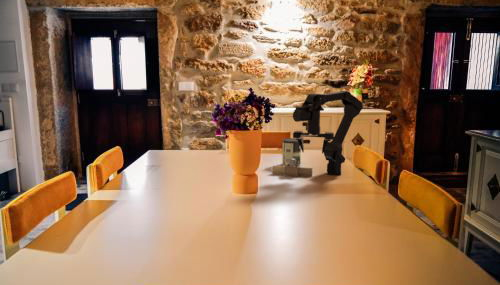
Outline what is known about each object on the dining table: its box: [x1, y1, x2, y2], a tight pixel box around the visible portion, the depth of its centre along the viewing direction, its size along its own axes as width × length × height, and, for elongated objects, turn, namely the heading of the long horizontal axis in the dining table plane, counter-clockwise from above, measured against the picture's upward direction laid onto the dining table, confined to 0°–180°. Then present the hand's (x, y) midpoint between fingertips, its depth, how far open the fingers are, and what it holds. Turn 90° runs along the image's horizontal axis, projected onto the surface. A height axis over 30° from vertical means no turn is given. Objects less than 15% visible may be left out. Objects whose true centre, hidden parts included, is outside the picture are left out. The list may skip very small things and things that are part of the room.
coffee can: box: [281, 137, 302, 166], centre depth 201 cm, size 10×10×14 cm
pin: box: [289, 158, 296, 166], centre depth 181 cm, size 3×3×8 cm
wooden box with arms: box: [272, 163, 313, 178], centre depth 182 cm, size 20×6×5 cm, turn 74°
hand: (312, 152), depth 176 cm, fingers open, 9 cm apart
